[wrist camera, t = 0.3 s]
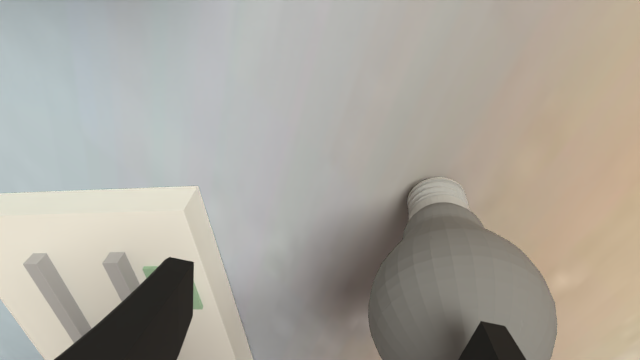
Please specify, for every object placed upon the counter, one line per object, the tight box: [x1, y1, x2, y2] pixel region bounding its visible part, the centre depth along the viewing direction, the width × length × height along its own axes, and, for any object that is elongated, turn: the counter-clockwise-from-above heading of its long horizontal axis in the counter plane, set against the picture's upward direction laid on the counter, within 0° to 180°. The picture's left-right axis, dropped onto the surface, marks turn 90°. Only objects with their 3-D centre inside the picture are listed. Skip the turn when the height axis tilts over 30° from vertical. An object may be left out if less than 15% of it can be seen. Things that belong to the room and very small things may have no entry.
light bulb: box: [368, 177, 557, 360], centre depth 17 cm, size 6×6×10 cm
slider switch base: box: [0, 186, 253, 360], centre depth 27 cm, size 20×13×3 cm, turn 7°
